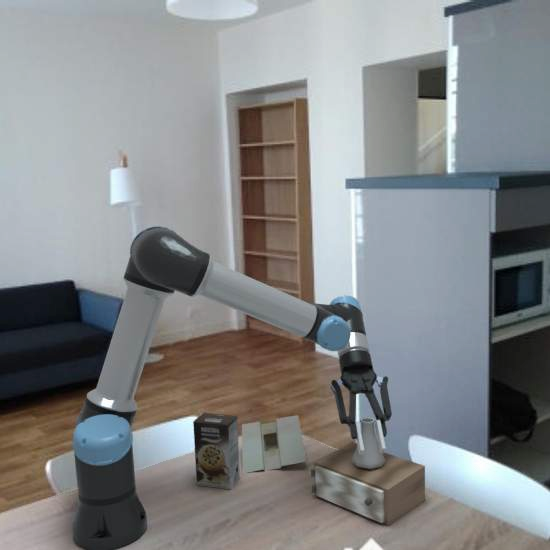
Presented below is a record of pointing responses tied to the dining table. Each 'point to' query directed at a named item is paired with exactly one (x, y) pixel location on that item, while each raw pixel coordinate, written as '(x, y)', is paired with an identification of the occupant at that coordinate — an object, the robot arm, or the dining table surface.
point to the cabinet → (370, 485)
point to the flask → (368, 447)
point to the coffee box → (216, 450)
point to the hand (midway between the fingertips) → (372, 451)
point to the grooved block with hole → (272, 444)
